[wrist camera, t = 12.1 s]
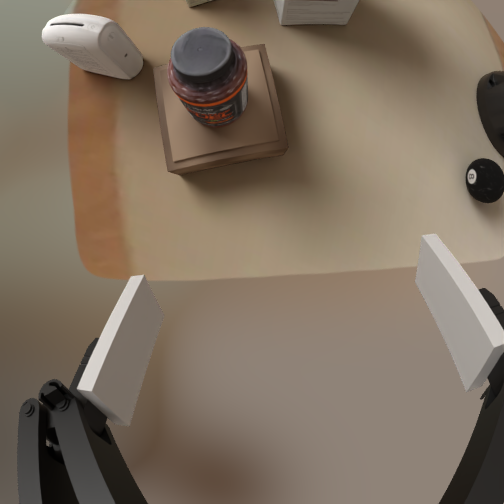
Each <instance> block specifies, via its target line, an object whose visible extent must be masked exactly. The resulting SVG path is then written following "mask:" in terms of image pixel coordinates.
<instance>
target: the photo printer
mask: <svg viewBox="0 0 504 504" xmlns="http://www.w3.org/2000/svg"><path fill="white" fill-rule="evenodd" d="M42 39H43V42H44V43H45V44H46V45H47V46H49V47H50V48H52V49H53V50H55V51H56V52H58V53H59V54H61V55H62V56H64V57H65V58H67V59H68V60H69V61H71V62H72V63H74V64H75V65H76V66H78V67H79V68H81V69H83V70H86V71H90V72H94V73H98V74H102V75H107V76H111V77H116V78H121V79H131V78H132V77H135V76H136V75H137V74H138V73H139V72H140V70H141V69H142V66H143V60H142V59H143V55H142V54H141V52H140V51H139V50H138V48H137V47H136V46H135V45H134V43H133V42H132V41H131V39H130V38H129V37H128V36H127V34H126V33H125V32H124V31H123V29H122V28H121V27H120V26H119V25H118V23H116V22H115V21H113V20H111V19H108V18H105V17H101V16H96V15H89V14H67V15H61V16H58V17H55V18H53V19H51V20H50V21H48V23H47V25H46V27H45V28H44V29H43V31H42Z"/></svg>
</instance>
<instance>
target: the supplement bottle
mask: <svg viewBox="0 0 504 504" xmlns="http://www.w3.org/2000/svg"><path fill="white" fill-rule="evenodd" d="M167 77H168V81H169V84H170V86H171V88H172V90H173V91H174V93H175V94H176V95H177V97H178V98H179V100H180V101H181V102H182V104H183V105H184V106H185V108H186V109H187V110H188V112H189V113H190V115H191V116H192V117H193V118H194V119H195V120H196V121H197V122H199V123H201V124H203V125H205V126H209V127H223V126H227V125H229V124H231V123H233V122H235V121H236V120H238V119H239V118H240V117H241V116H242V114H243V113H244V111H245V109H246V106H247V103H248V71H247V61H246V57H245V54H244V52H243V51H242V49H241V48H240V46H239V45H238V44H236V43H235V42H234V41H232V40H231V39H229V38H228V37H227V35H225V34H224V33H223V32H222V31H219V30H217V29H214V28H209V27H200V28H196V29H192V30H190V31H188V32H186V33H184V34H183V35H182V36H180V37H179V38H178V39H177V41H176V42H175V43H174V45H173V47H172V50H171V58H170V61H169V64H168V68H167Z"/></svg>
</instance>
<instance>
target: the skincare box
mask: <svg viewBox="0 0 504 504" xmlns="http://www.w3.org/2000/svg"><path fill="white" fill-rule="evenodd" d="M209 1H212V0H186V2H187V4H188V6H189V7H192V6H195V5H198V4H202V3H205V2H209Z"/></svg>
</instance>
